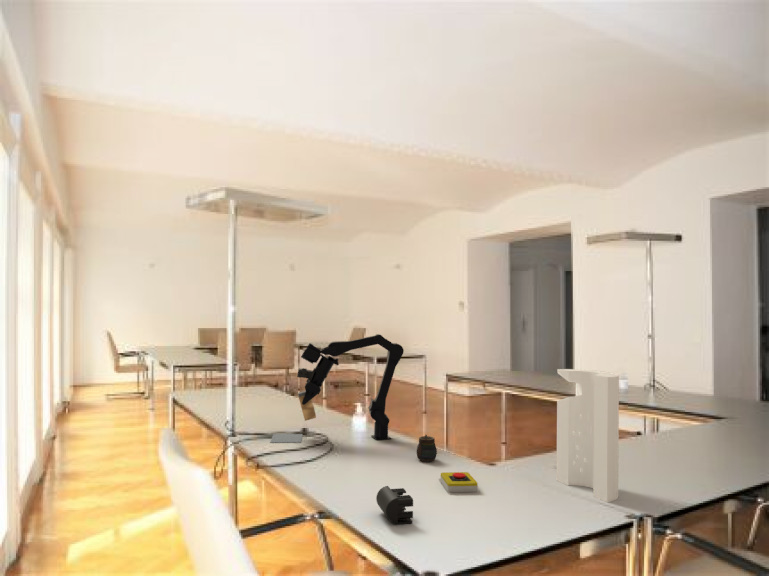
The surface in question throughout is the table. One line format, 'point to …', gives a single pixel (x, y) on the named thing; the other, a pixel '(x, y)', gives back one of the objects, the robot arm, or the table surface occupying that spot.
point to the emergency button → (459, 483)
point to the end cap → (395, 505)
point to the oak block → (307, 407)
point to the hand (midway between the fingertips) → (303, 403)
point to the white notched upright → (589, 433)
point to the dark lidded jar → (426, 449)
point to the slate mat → (286, 438)
